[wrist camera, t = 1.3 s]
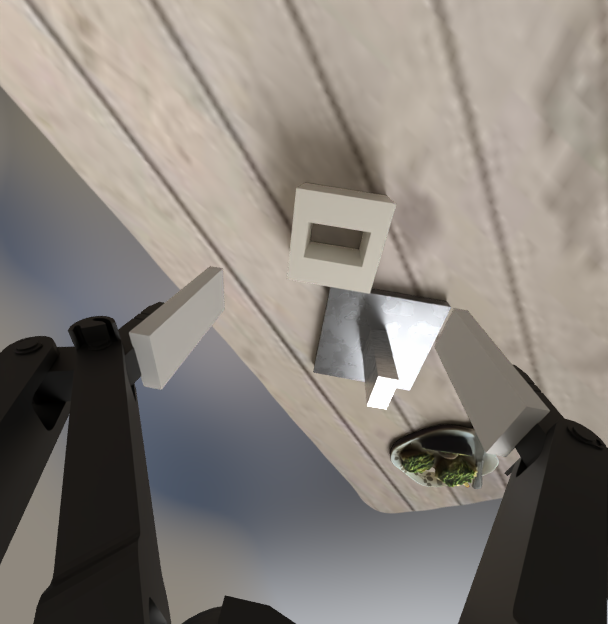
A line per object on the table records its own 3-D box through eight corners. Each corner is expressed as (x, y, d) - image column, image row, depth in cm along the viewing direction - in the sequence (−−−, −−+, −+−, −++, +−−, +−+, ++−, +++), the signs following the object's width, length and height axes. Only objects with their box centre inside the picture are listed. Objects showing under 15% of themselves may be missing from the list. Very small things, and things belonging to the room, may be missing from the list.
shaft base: (331, 281, 34) (327, 325, 25) (446, 301, 33) (485, 354, 24) (314, 365, 42) (306, 422, 33) (407, 383, 41) (425, 446, 32)
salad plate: (518, 467, 49) (534, 494, 45) (429, 490, 56) (436, 515, 52) (468, 409, 43) (481, 434, 39) (376, 443, 50) (379, 467, 46)
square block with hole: (304, 182, 28) (296, 188, 23) (386, 195, 28) (396, 204, 23) (295, 260, 33) (286, 279, 28) (365, 272, 33) (369, 293, 28)
